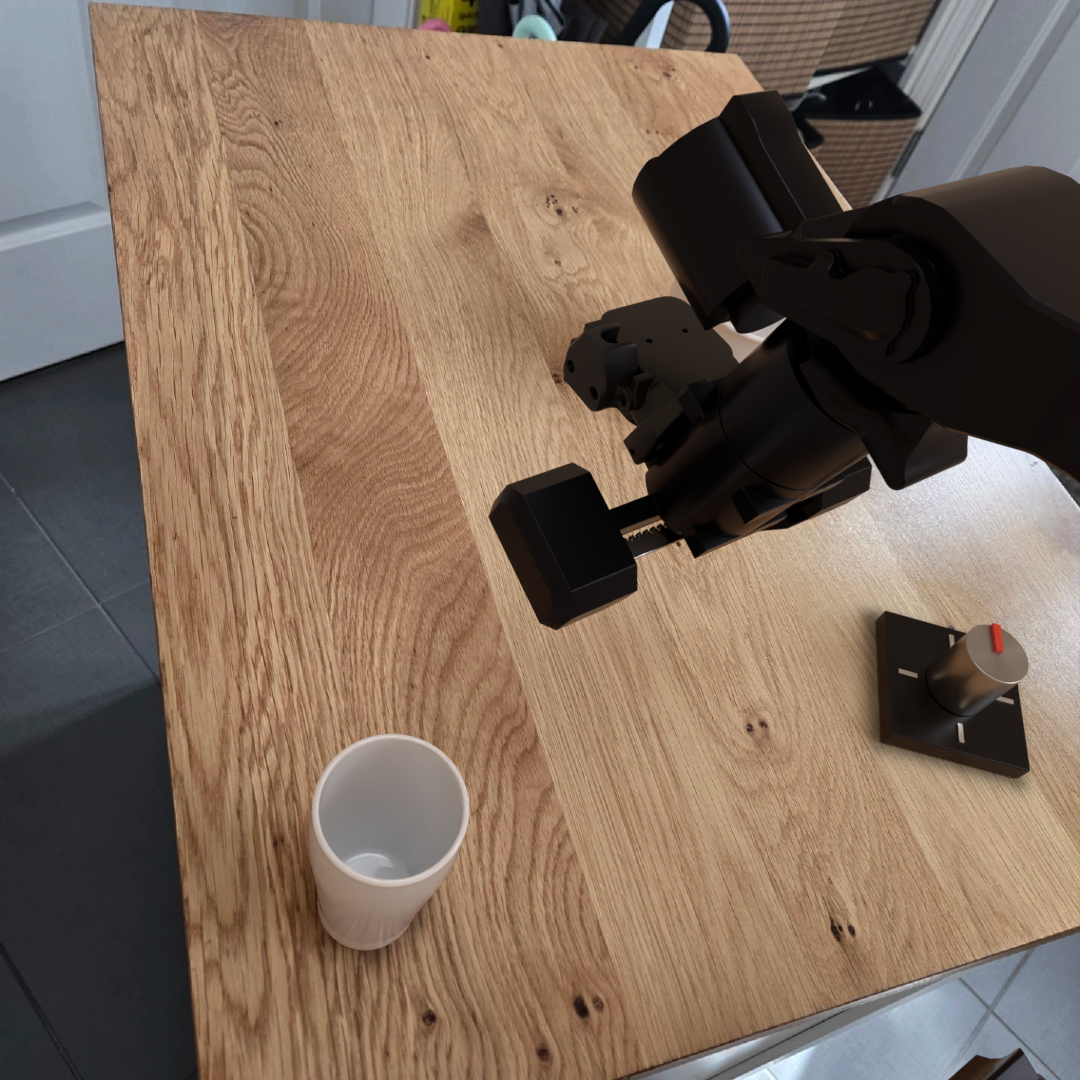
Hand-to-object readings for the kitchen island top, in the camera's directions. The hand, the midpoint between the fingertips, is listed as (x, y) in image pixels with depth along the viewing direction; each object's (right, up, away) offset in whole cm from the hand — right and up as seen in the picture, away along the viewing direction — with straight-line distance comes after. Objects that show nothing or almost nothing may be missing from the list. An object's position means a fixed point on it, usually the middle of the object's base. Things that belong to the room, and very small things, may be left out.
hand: (618, 554), depth 51 cm
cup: (+9, +11, +29) cm, 32 cm away
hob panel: (+25, -10, +17) cm, 32 cm away
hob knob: (+25, -10, +16) cm, 31 cm away
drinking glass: (-14, -19, +1) cm, 23 cm away
